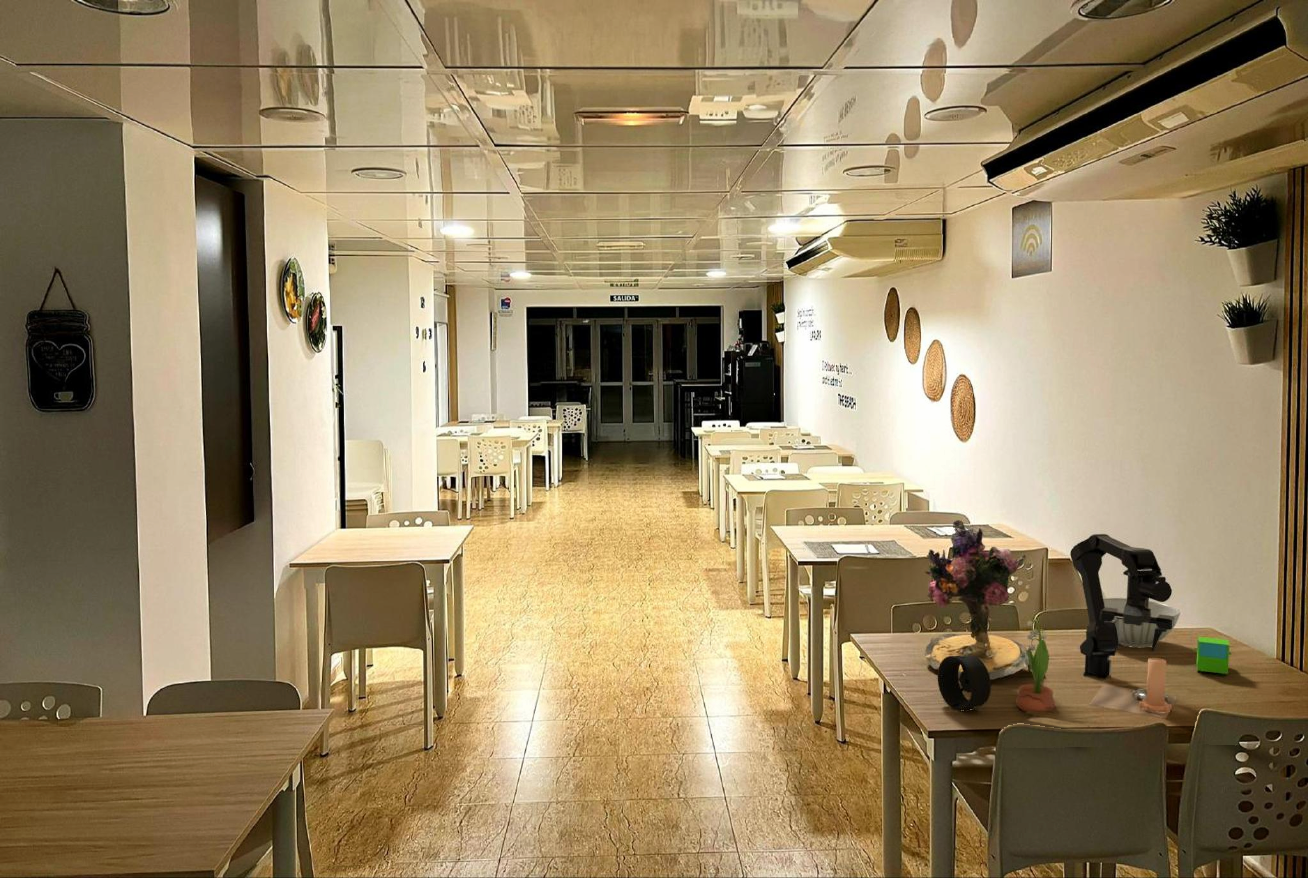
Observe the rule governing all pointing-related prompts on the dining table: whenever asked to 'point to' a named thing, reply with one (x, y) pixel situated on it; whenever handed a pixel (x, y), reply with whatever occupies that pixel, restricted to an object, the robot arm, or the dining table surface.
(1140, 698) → the gear
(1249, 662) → the dining table surface
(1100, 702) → the gear board
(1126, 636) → the decorative bowl
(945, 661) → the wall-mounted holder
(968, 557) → the bouquet
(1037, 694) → the potted flower
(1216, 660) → the blue-striped green cube
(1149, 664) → the gear spool
